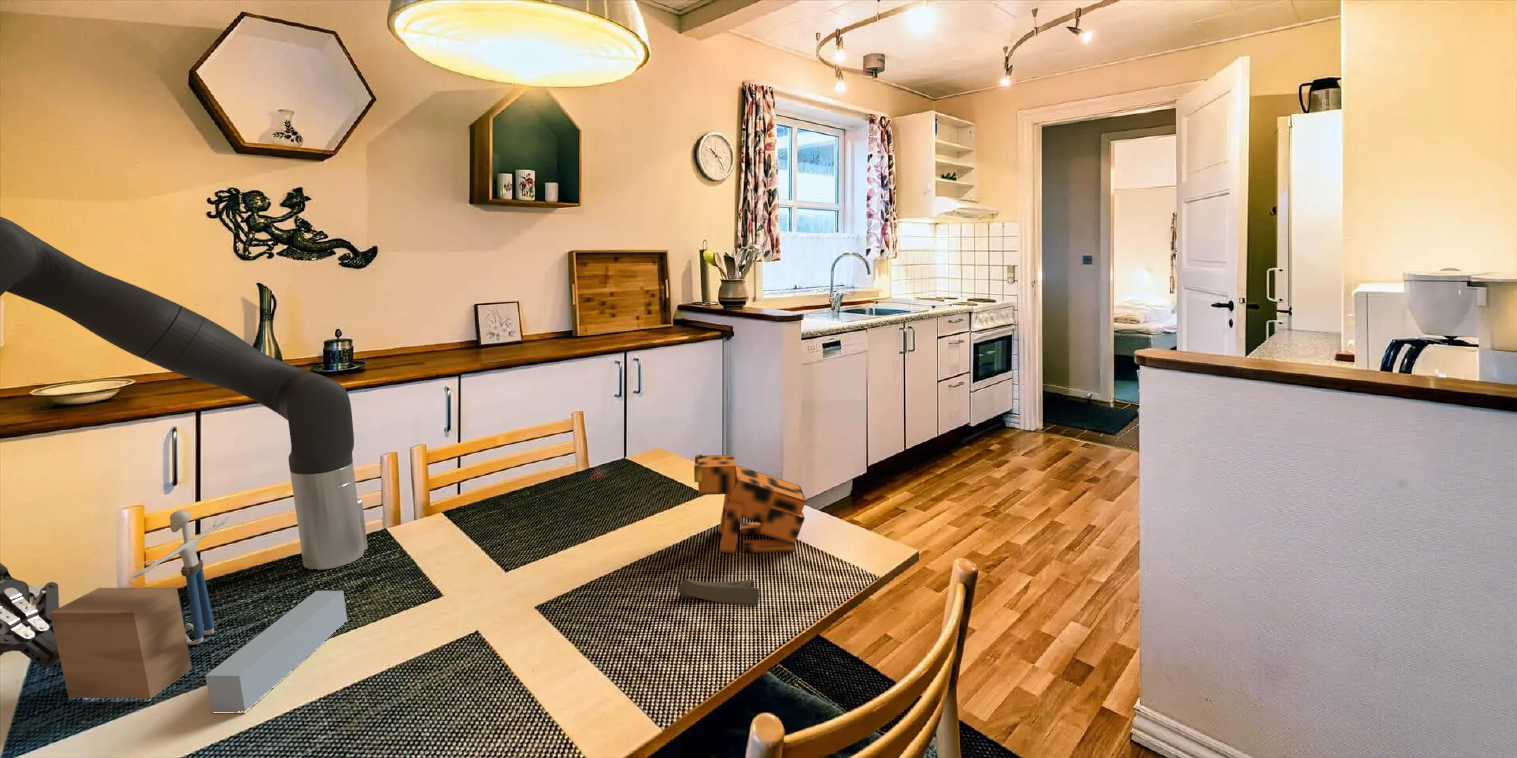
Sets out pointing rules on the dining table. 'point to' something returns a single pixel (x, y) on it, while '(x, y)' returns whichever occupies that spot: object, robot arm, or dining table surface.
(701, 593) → the grey long curved piece
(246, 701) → the blue-gray rectangular bar
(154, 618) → the walnut block
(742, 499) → the toy animal
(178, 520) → the alien figure
